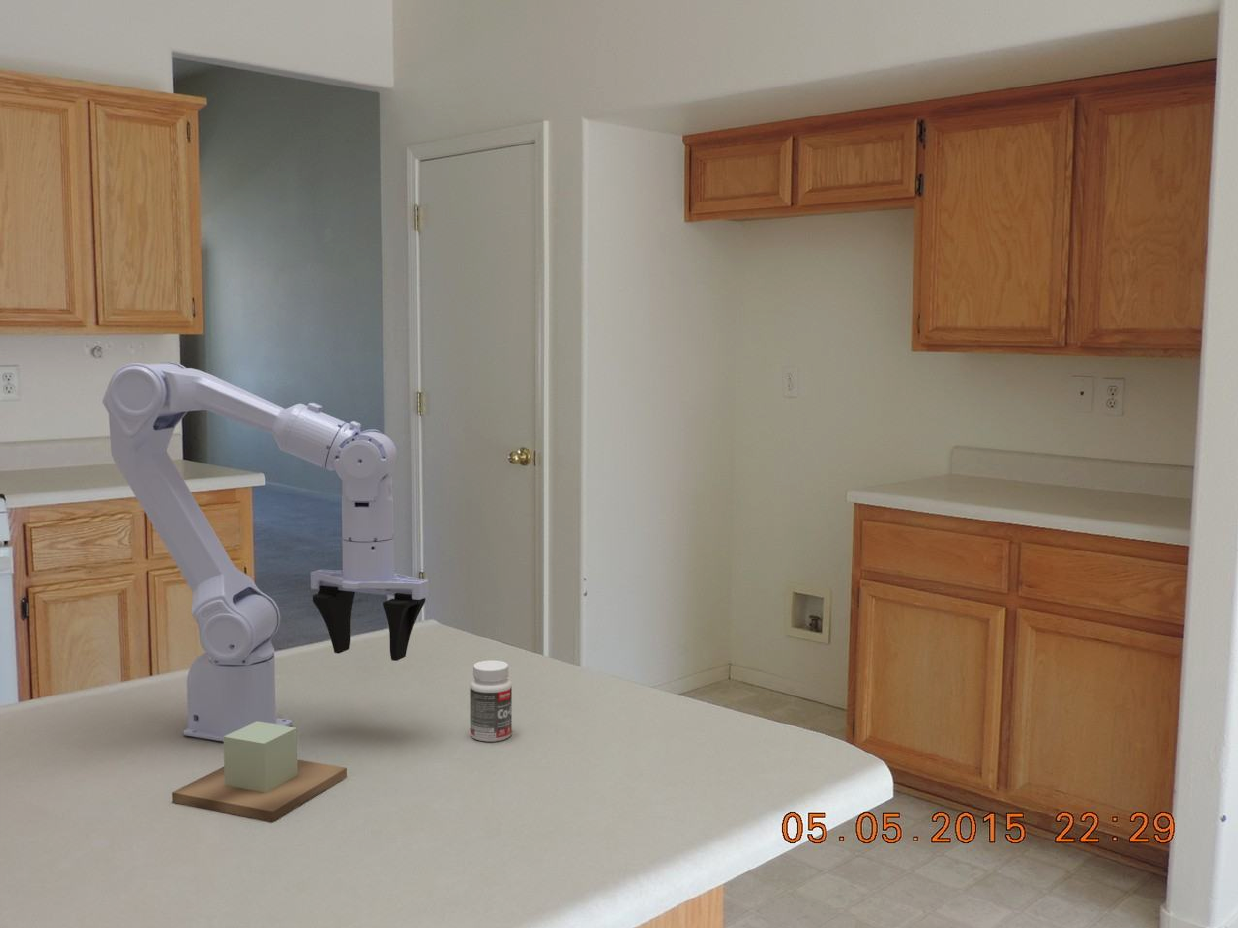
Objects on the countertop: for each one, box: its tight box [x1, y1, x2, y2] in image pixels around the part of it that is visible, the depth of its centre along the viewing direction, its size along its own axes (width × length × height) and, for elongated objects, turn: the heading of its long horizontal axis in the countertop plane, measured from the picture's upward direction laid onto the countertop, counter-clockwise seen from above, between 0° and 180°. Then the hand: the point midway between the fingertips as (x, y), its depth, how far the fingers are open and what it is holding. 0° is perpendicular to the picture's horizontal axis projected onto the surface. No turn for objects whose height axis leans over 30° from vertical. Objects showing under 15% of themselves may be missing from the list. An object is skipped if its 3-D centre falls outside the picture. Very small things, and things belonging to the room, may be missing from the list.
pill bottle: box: [469, 660, 513, 743], centre depth 131 cm, size 5×5×8 cm
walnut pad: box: [171, 758, 348, 823], centre depth 115 cm, size 12×12×1 cm
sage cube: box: [223, 721, 298, 793], centre depth 114 cm, size 5×5×5 cm
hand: (369, 654), depth 130 cm, fingers open, 7 cm apart
